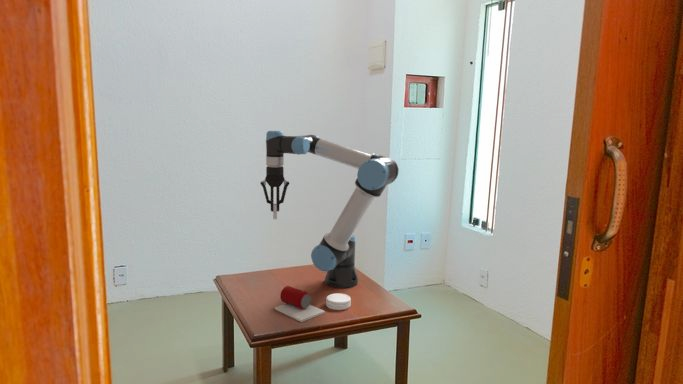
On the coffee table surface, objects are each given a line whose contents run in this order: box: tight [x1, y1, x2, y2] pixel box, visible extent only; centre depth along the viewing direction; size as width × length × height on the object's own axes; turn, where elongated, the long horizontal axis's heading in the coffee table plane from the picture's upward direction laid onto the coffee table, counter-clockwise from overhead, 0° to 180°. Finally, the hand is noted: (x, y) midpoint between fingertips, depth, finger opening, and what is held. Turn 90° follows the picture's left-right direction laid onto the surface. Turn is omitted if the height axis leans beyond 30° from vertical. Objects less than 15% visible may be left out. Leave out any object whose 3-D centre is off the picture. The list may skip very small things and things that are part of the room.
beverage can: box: [280, 285, 312, 309], centre depth 193 cm, size 7×7×12 cm
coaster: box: [325, 293, 352, 311], centre depth 196 cm, size 10×10×4 cm
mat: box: [274, 303, 326, 323], centre depth 190 cm, size 16×12×1 cm
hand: (275, 218), depth 217 cm, fingers closed
